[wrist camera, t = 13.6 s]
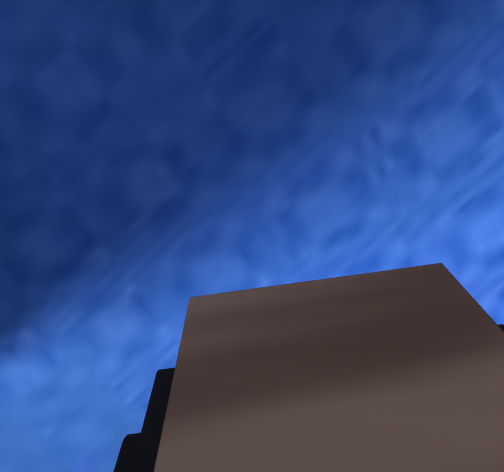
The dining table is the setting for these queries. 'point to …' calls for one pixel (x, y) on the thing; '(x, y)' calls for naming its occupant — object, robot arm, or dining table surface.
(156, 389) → the robot arm
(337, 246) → the dining table surface
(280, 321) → the brown block
